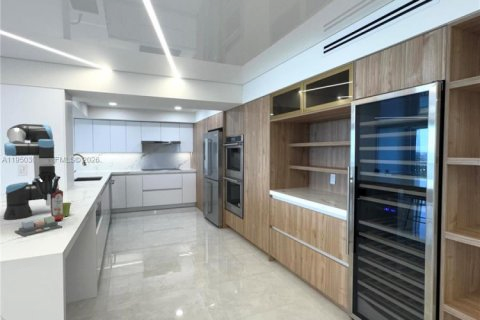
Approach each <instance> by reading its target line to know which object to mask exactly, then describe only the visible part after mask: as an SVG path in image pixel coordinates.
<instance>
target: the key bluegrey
mask: <svg viewBox="0 0 480 320" xmlns="http://www.w3.org/2000/svg"><path fill="white" fill-rule="evenodd" d="M34 223H35V222H34V220H25V221H21V227H22V228H24V229H26V228H31V227H34Z"/></svg>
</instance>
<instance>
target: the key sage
mask: <svg viewBox="0 0 480 320" xmlns="http://www.w3.org/2000/svg"><path fill="white" fill-rule="evenodd" d="M43 222H45V223H46V224H49V223H53V222H55V217H53V216H51V215H50V216H45V217H43Z"/></svg>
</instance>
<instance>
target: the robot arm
mask: <svg viewBox="0 0 480 320" xmlns="http://www.w3.org/2000/svg"><path fill="white" fill-rule="evenodd" d="M52 131H53V130H52V126H50V125H48V124H47V125H46V124H34V123H32V124H31V123H20V124H16V125H13V126H11V127H10V128H9V129H7V131H6V138H7V139H8V142H5V143H4V155H5V156H7V157H10V156H11V157H18V156H19V157H22V156H32V157H33V171H34V172H33V173H34V178H33V180H32V181H31V183H29V182H28V181H25V182H18V183H17V182H16V183H12V184H9V185H7V186H6V187H5V195H6V197H5V198H6V208H5V211H4V213H3V220H6V221H7V220H8V221H9V220H10V221H11V220H19V219H20V220H21V219H26V218H29V217H32V216H33V210H32V208H31V206H30V201H37V200H38V201H39V200H44V201H45V206H47V207H48V206H51V199H52V194H53V193H55V192H56V189H57V185H58V186H59V181H60V180H61V176H59V175H57V174H56V167H55V165H56V164H55V163H56V162H55V159H56V157H55V140H54V135H53V132H52ZM26 141H27V142H26ZM28 141H30V142H28ZM54 178H55V180H54V181H53V179H54Z"/></svg>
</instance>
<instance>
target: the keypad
mask: <svg viewBox="0 0 480 320" xmlns="http://www.w3.org/2000/svg"><path fill="white" fill-rule="evenodd" d="M58 222H59V221H56V222H53V223H49V224H46V223H45V225H41V226H37V227H35V226H34V227H31V228H26V229H24V228H22V226H21V227H18V230H14V233H15V234H17V235H19V236H22V237H29V236H33V235H37V234H41V233H42V234H43V233H45V232H49V231H54V230H57V229H59V230H60V229H62V228H63V226H62V225H60V224H58Z"/></svg>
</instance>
